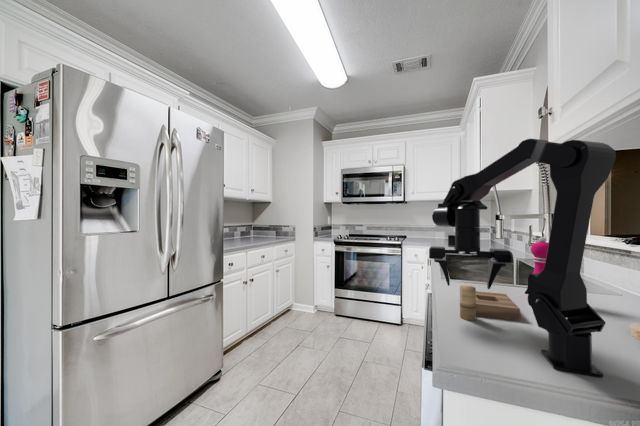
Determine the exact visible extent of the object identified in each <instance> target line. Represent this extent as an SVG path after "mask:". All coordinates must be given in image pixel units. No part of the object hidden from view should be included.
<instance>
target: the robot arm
mask: <svg viewBox="0 0 640 426" xmlns="http://www.w3.org/2000/svg"><path fill="white" fill-rule="evenodd" d="M616 159H617V153H616V150H615V149H614V148H612V147H611V146H610V145H609V144H607V143H604V142H600V141H599V142H598V141H590V140H589V141H588V140H580V139H579V140H577V139H571V140H567V141H564V142H562V143H560V142H553V141H549V140H546V139H540V138H539V139H538V138H527V139H524V140H522V141H521V142H520V143H519V144H518V146H516V147H514V148H513V149H511V150H510V151H509V152H507V153H505V154H504V155H502V156H501V157H499V158H498V159H496V160H495V161H493V162H491V163H490V164H489V165H487V166H485V167H484V168H483V169H481V170H479V171H478V172H476V173H472V174H469V175H465V176H462V177H461V178H458V179H456V180H454V181H453V182H452V183H451V186H450V188H449V190H448V191H447V194H446V195H445V198H444V199H443V202H442V203H440V202H439V203H438V204H437V208H435V209H434V211H433V212H432V215H431V217H432V222H433V224H435V225H436V226H438V227H448V228H449V227H454V229H455V231H454V235H453V234H451V235H450V234H448V235H447V247H448V248H453V249H446V247H445V246H436V245H435V246H432V245H431V246H430V247H429V248H428V257H429V259H432V260H433V261H434V262H435V263H438V264H439V266H440V267H441V271H442V272H443V273H442V274H443V275H444V278H445V281H446V284H447V286H450V283H451V282H450V274H449V268H448V261H447V257H453V258H472V259H475V258H477V259H488V260H487V263H488V271H487V276H486V277H487V280H486V288H487V290H490V289H491V288H492V285H493V283H494V281H495V279H496V276H497V274H498V273H499V272H500V271H501V268H503V267H507V265H508V264H507V263H509V264H511V263H512V264H514V255H513V253H512V252H511V251H510V250H509V249H506V248H489V250H481V219H480V218H481V216H480V215H481V214H480V213H481V210H483V211H484V210H485V211H486V210H488V206H487V205H486V204H484V203H483V202H482V201H481V200H482V199H484V198H485V197H486V196H487V195H488V194H490V191H491V190H492V188H494V187H495V186H496V185H497V184H500V183H502V182H503V181H505V180H507V179H508V178H510V177H513V176H514V175H516V174H517V173H519V172H521V171H523V170H524V169H527V168H528V167H531V166H532V165H534V164H535V163H541V164H544V165H549V178H550V179H551V182H552V184H553V187H554V188H555V190H556V196H555V197H556V198H555V202H554V208H553V214H552V221H551V227H550V234H549V239H548V243H549V244H548V250H547V256H546V262H545V267H544V269H543V270H542V271H541V273H536V274H533V273H529V274H528V277H527V287H526V290H525V292H524V294H525V295H527V302H528V305H529V306H530V307H531V310H532V313H533V315H534V318H535V321H536V324H537V326H538V328H540V329H543V330H545V331H546V332H547V334H548V335H547V338H548V340H547V342H548V343H547V344H548V345H547V347H548V350H547V349H540V353H541V354H542V356H543V357H544V358H545V359H546V361H547V362H548V363H549V364H550V366H551V367H553V369H556V370H559V371H565V372H571V373H577V374H582V375H589V376H593V377H594V376H595V377H599V378H600V377H601V378H603V377H604V373H603V372H602V371H601V370H600V369H599V368H597V366H595V365H594V363H593V350H592V349H593V343H592V342H593V341H592V339H593V336H592V335H593V334H592V333H596V332H597V333H601V332H602V331H603V329H604V328H605V325H606V321H605V320H604V319H603V317H602V316H600V314H598V312H597V311H595V309H593V308H592V306H591V305H590V304H589V303H588V295H587V294H588V293H587V292H588V291H587V290H588V289H587V287H586V285H585V283H584V280H583V278H582V275H581V268H582V263H583V259H584V258H583V257H584V253H585V248H586V242H587V237H588V231H589V225H590V222H591V221H590V220H591V214H592V209H593V204H594V198H595V195H596V193H597V192H598V191H599V190H600V188H601V187H602V186H603V184H604V183H605V182H606V181H607V180H608V179H609V176H610V174H611V171H612V169H613V167H614V164H615V162H616Z"/></svg>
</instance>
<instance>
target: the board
mask: <svg viewBox="0 0 640 426" xmlns="http://www.w3.org/2000/svg"><path fill="white" fill-rule="evenodd" d="M520 315H521V309H520V307H519V306H518V305H517V304H516V303H515V302H514V301H513V300H512V299H511V298H510V296H508V294H507V293H501V292H500V293H499V292H498V293H497V292H490V291H489V292H487V291H479V290H478V291H477V290H476V316H481V317H490V318H497V319H504V320H514V321H521V316H520Z"/></svg>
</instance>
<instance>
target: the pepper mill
mask: <svg viewBox="0 0 640 426" xmlns="http://www.w3.org/2000/svg"><path fill="white" fill-rule="evenodd" d="M548 244H549V242H547V238H546V237H543V236H541V237H539V239H538V242H534V243H532V245H531V246H530V252H531V254H532V255H533V256H532V258H533V259H532V261H533V262H534V269H533V272H532V274H536V273H541V271H542V270H543V269H544V267H545V262H546V256H547V250H548Z"/></svg>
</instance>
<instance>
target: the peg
mask: <svg viewBox="0 0 640 426" xmlns="http://www.w3.org/2000/svg"><path fill="white" fill-rule="evenodd" d="M476 291H477V289H476V287H475V286H471V285H465V284H464V285H459V317H460V318H461V319H462V320H466V321H476V320H477V315H476Z"/></svg>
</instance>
